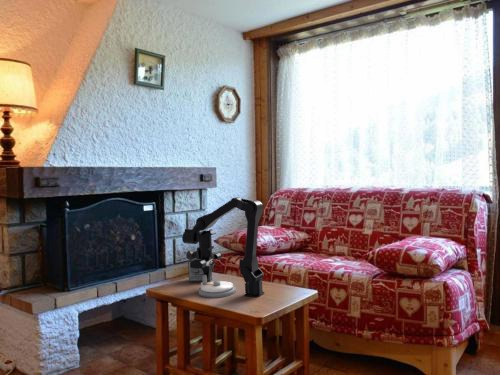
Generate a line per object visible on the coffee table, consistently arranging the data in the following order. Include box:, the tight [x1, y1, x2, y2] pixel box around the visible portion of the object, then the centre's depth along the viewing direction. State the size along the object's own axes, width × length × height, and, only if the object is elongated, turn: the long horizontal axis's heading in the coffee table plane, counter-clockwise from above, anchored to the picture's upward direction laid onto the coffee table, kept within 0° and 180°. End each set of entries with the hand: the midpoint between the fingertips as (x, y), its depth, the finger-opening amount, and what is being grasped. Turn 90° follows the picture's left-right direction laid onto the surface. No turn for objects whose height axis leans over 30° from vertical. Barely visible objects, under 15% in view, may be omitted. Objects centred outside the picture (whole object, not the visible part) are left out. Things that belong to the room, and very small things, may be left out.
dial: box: [200, 275, 234, 293], centre depth 184 cm, size 14×14×5 cm
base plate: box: [198, 282, 236, 299], centre depth 184 cm, size 16×16×4 cm
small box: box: [187, 258, 213, 283], centre depth 205 cm, size 11×6×10 cm, turn 84°
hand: (207, 279), depth 189 cm, fingers closed
